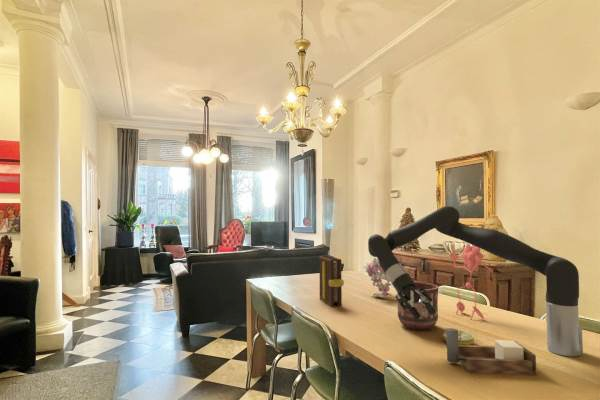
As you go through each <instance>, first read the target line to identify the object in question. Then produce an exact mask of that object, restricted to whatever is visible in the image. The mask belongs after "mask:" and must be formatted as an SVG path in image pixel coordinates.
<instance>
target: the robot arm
mask: <svg viewBox="0 0 600 400" xmlns="http://www.w3.org/2000/svg"><path fill="white" fill-rule="evenodd" d="M460 217H461V216H460V212H459V210H458V209H457V208H455V207H453V206H450V205H445V206H441V207H440V208H438V209H436V210H434V211H432V212H431V213H429V214H427V215H425V216H423V217H422V218H420V219H418V220H416V221H414V222H413V221H412V222H411V223H409V224H406V225H405V226H401V227H399V228H397V229H394V230H391V231H390V232H388V234H387V235H386V237H384V236H383V235H380V234H378V233H377V234H372V235H371V236H370V237H369V239H368V240H367V247H368V248H367V249H368V252H369V254H370V256H372V257H374V258H376V259H378V260H379V264H380V266H381V268H382V269H383V271H384V272H385V274H386V275H387V277H388V279H389V281H390V282H389V283H390V284H392V285H391V286H392V287H393V288H394V290H395V291H396V295H395V298H396V300H397V303H398V302H399V303H400V305H401V306H402V308H403V309H404V310H406V309H407V310H409V311H410V312H411V313H412V315H413V316H414V318H415V319H419V318H420V317H421V315H420V314H419V312H418V311H417V309H416V308H415V307H414V304H413V303H414V302H418V303H419V304H420V303H421V304H423V305H424V306H425V307H426V309H427V310H428V312H429V313H430V314H431V315H434V314H435V313H436V311H435V309H434V308H433V306H432V305H431V304H430V302H431V301H432V299H431V297H430V296H429V295H428V293H427V292H426V291H425V290H424V288H422V287H421V288H420V289H417V288H416V287H415V282H416V281H415V280H414V279H413V278H412V277H411V275H410V274H409V272H408V270H406V268H405V267H404V266H403V265H402V264H401V263H400V261H399V259H398V258H397V257H396V256H395V254H394V253H393V251H394V250H395V249H397V248H400V247H402V246H405V245H407V244H410V243H412V242H414V241H416V240H418V239H419V238H420V237H422V236H423V235H425V234H426V233H428V232H430V231H431V230H434V229H435V230H436V231H437V232H439V233H441V234H443V235H446V236H448V237H451V238H454V239H457V240H461V241H462V242H465V243H469V244H470V245H471V246H472V245H474V246H476V247H478V248H480V250H484V251H486V252H487V253H490V254H491V255H494V256H495V257H498V258H500V259H503V260H506V261H509V262H512V263H517V264H519V265H523V266H525V267H527V268H528V267H529V268H530V269H533V270H534V271H536V272H537V273H540V274H541V275H543V276H545V281H546V290H545V312H546V340H547V341H546V343H547V344H546V345H547V350H548V351H550V352H551V353H553V354H556V355H559V356H564V357H574V358H575V357H579V356H584V346H583V345H584V343H583V328H582V326H580V322H579V321H580V319H579V315H580V314H579V298H580V275H579V269H578V267H577V266H576V265H575V264H574V263H573V262H571V261H570V260H568V259H567V258H564V257H561V256H556V255H553V254H550V253H548V252H544V251H541V250H539V249H536V248H534V247H532V246H531V245H529V244H526V243H525V242H523V241H521V240H520V239H517V238H515V237H513V236H511V235H509V234H506V233H504V232H501V231H499V230H496V229H492V228H482V227H481V228H480V227H479V228H478V227H474V226H473V227H472V226H468V225H466V224H463V223H461V222H460ZM397 292H398V294H397ZM420 297H422V298H421V299H420ZM426 297H427V298H428V299H426ZM423 300H424V301H425V302H423ZM403 302H404V303H405V305H404V304H403Z"/></svg>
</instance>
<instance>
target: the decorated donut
mask: <svg viewBox="0 0 600 400" xmlns="http://www.w3.org/2000/svg"><path fill="white" fill-rule="evenodd" d="M442 338H443V340H444V341H445V342H446V343H447V331H444V332H443V334H442ZM458 338H459V345H471V346H473V344H474V341H475V339H474V338H475V336H473V334H471V333H469V332H466V331H462V330H458Z"/></svg>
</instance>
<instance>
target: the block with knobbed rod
mask: <svg viewBox="0 0 600 400" xmlns="http://www.w3.org/2000/svg"><path fill="white" fill-rule="evenodd" d="M446 331H447V342H446V360H447V361H448V362H449V363H452V364H458V363H460V362H459V361H466V358H468V357H459V338H458V331H459V330H458V329H457V328H453V327H448V328H446ZM446 331H445V332H446ZM515 341H516V340H505V339H504V340H502V339H501V340H500V339H498V340H497V339H495V340H494V346H495V359H510V360H524V353H523V347H524V346H523V345H522V346H523V347H522V346H520V345H521V344H520V343H519V344H520V345H519V344H517V343H518V342H517V341H516V342H517V343H516V342H515ZM484 359H494V358H484Z"/></svg>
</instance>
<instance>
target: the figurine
mask: <svg viewBox="0 0 600 400" xmlns="http://www.w3.org/2000/svg"><path fill="white" fill-rule="evenodd" d="M466 243H467V242H466ZM480 251H481V248H478V247H476V246H474V245H472V244H469V243H467V244H466V246H465V247H464V248H463V253H461V255H460V257H461V259H463V263H464V265H463V266H457V265H456V261H457V260H458V258H459V255H458V253H456V251H452V252H451V253H450V255H449V257H450V259H451V260H452V262H453V264H454V268H461V269H465V270H466V271H468V272H469V273H470V277H469V281H468V282H465V286H464V285H463V286H462V287H459V288H457V289H456V290H457V295H458V300H459V301H457V303H456V308H457V310H456V313H455V315H458V313H459V312H461V313H463V312H464V311H465V310H466V309H465V308H466V307H465V304H464V303H463V302H462V301H461V298H460V294H459V293H460V292H459V290H460V289H462V288H467V289H472V291H473V292H474V294H475V295H474V296H475V297H474V298H475V299H474V305H473V306H472V309H473V310H472V309H471V310H470V309H468V311H470V312H472V313H471V316H470V320H472V319H473V317H474V313H475V314H476V315H478V316H479V317H480V318H481V319H483V320H484V319H485V318H484V315H485V316H486V315H488V314H487V313H484V312H481V311H480V310H479V309H478V308H477V292H476V290H475V289H474V288H473V286H472V283H471V280H472V276H473V272H474V271H475V270H478V269H479V266H481V265H483V266H484V268H485V267H486V269H488V270H489V271H490V272H491V273H493V270H492V269H491V268H490V267H489V266H488V265H486V263H484V262H483V261H482V259H484V257H485V256H484V255H483V253H482V252H480ZM466 266H467V267H466ZM483 314H484V315H483ZM488 316H490V317H491V315H488ZM479 323H480V324H481V323H483V322H481V321H480V322H479Z"/></svg>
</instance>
